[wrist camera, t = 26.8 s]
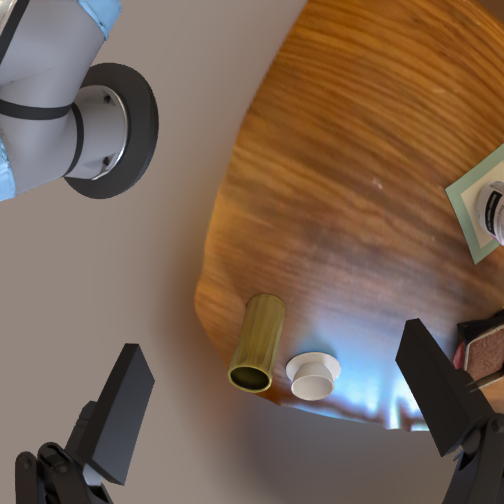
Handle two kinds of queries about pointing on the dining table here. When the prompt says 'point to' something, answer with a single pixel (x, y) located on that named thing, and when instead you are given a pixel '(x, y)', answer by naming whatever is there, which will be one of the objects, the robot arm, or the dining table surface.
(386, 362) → the dining table surface
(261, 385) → the vase
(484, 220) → the supplement can
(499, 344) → the square plant pot
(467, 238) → the mat
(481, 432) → the robot arm
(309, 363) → the teacup
